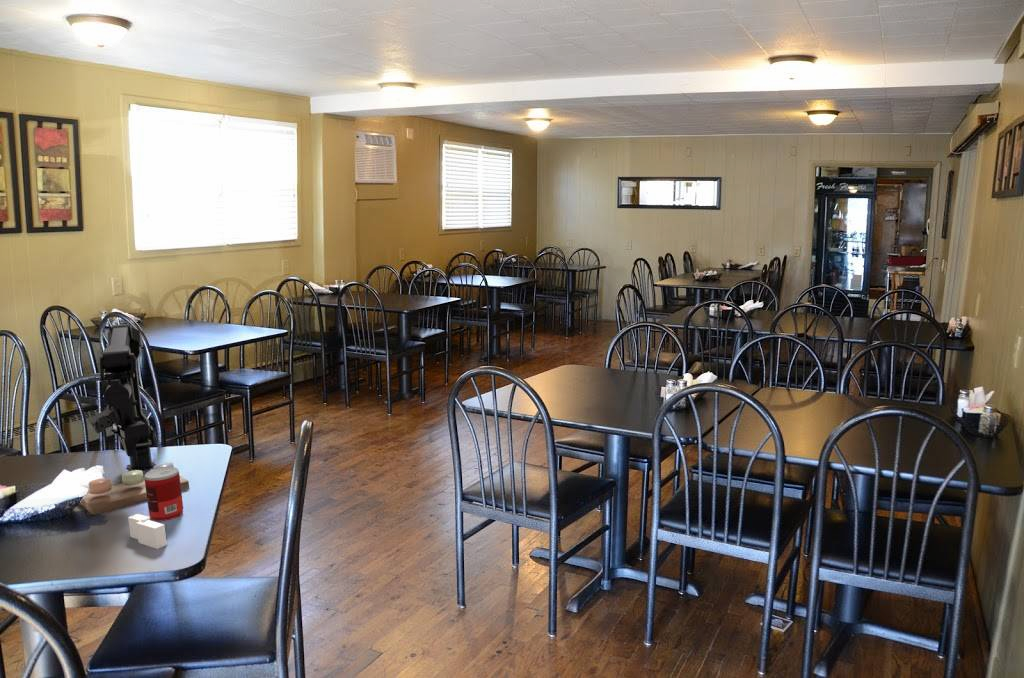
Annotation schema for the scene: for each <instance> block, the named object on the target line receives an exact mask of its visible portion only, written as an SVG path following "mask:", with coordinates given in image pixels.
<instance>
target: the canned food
mask: <svg viewBox="0 0 1024 678" xmlns="http://www.w3.org/2000/svg"><path fill="white" fill-rule="evenodd" d="M179 475H180V471H179V468H178V467H163V468H158V469H154V470H153V469H151V470H150V471H147V472H146V473H145V474H143V478H144V479H145V487H146V495H147V500H146V501H147V508H148V515H149V516H148V517H150V520H151V521H155V522H160V521H161V522H162V521H168V520H172V519H175V518H177V517H180V515H181V514H182V513H183V511H184V504H183V503H184V502H183V494H182V490H181V484H180V476H181V475H180V476H179Z"/></svg>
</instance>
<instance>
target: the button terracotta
mask: <svg viewBox="0 0 1024 678" xmlns="http://www.w3.org/2000/svg"><path fill="white" fill-rule="evenodd" d="M111 486H112V482H111V478H108V477H107V478H105V477H103V478H96V479H93V480H91V481H89V482H88V489H89V490H88V492H90V494H102V493H106V492H108V491H110V490H111V489H112V488H111Z"/></svg>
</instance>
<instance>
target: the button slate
mask: <svg viewBox="0 0 1024 678" xmlns="http://www.w3.org/2000/svg"><path fill="white" fill-rule="evenodd" d="M163 467H174V463H173V462H161V463H157V464H156V465H155V466H153V467H152V468H153V469H152V470H154V469H158V468H163Z"/></svg>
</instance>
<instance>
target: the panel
mask: <svg viewBox="0 0 1024 678" xmlns="http://www.w3.org/2000/svg"><path fill="white" fill-rule="evenodd" d="M179 476H180V484H181V491H184V490H188V489H190V484H189V482H190V481H189V480H187V479H186V478H184V477H183V476H181V475H180V474H179ZM143 479H144V477H143ZM111 488H112V489H111V490H110V491H108V492H106V493H102V494H90V491H88V493H87V492H86V493H87V494H86V496H84V497H83V498H82V499H81V504H80V505H82V507H84V508H85V509H86V510H87V511H88V512H89V513H90V514H91V515H92V516H94V515H98V514H102V513H105V512H108V511H111V510H116V509H119V508H120V509H121V508H122V507H123V508H124V507H126V506H129V505H134V504H138V503H140V502H144V501H147V495H146V487H145V479H144V481H143V482H142V483H140V484H136V485H131V486H126V485H123V482H122V483H120V484H119V483H118V484H115V485H111Z"/></svg>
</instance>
